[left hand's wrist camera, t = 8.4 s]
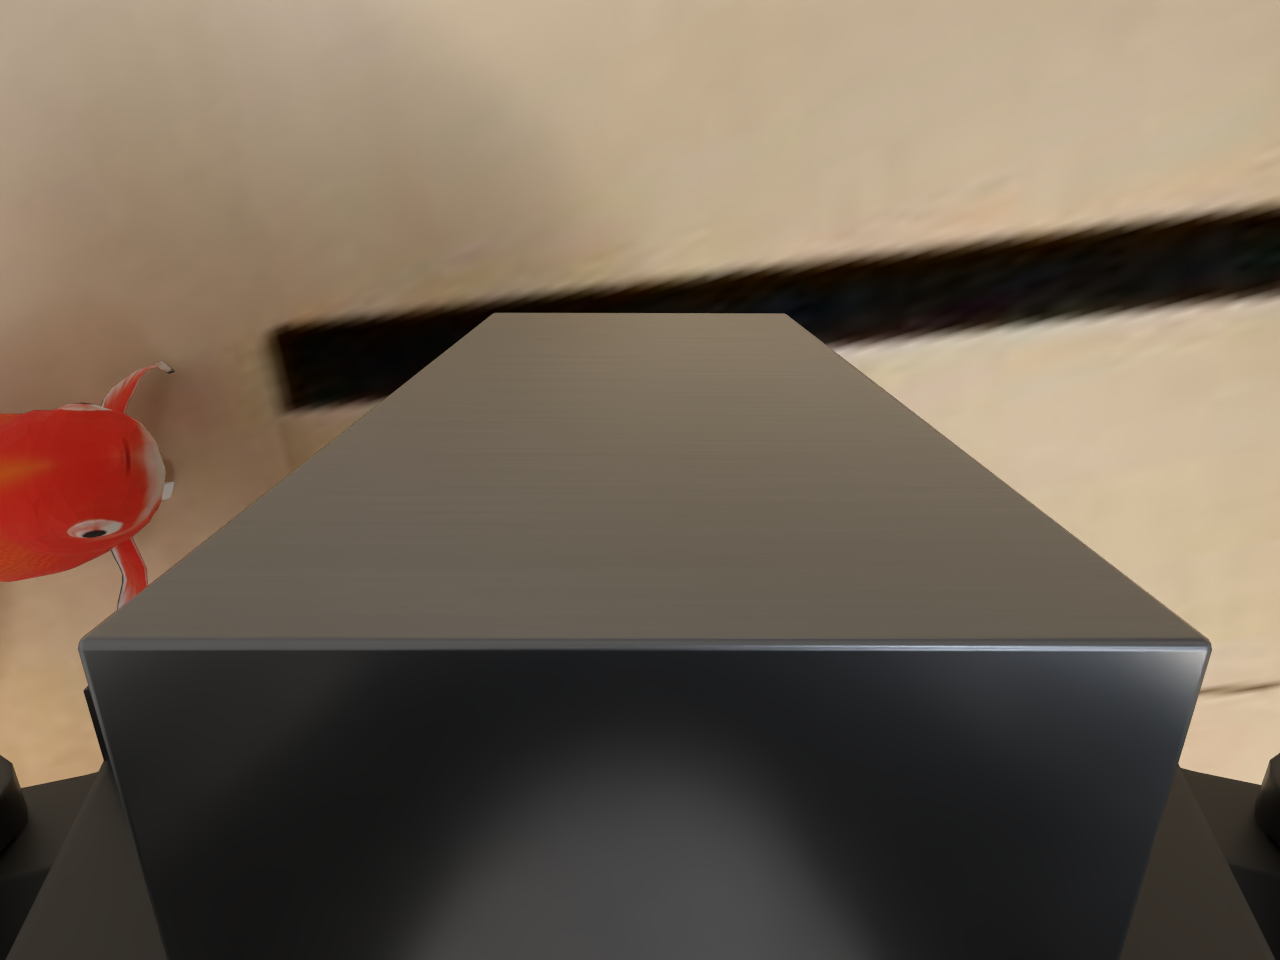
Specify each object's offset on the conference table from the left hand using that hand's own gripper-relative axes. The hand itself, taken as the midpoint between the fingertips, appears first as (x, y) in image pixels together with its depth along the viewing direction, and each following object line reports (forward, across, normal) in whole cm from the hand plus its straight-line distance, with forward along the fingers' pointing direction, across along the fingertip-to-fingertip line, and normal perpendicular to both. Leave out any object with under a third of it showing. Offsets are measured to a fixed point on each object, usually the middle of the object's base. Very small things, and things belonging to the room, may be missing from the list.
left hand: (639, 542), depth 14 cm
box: (+3, 0, -9) cm, 9 cm away
